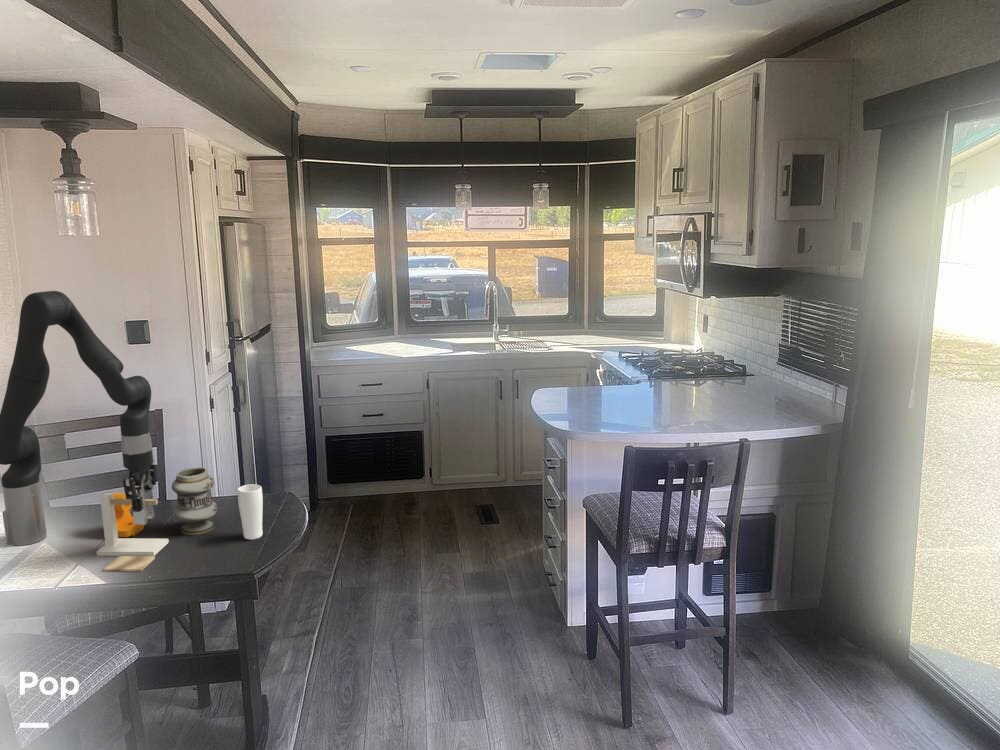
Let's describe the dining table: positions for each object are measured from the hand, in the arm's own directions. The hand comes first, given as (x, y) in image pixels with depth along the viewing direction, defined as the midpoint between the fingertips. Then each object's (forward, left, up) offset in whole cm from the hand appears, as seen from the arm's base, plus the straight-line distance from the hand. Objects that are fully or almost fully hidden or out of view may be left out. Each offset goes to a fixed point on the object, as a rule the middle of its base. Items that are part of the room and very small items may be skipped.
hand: (143, 506), depth 215 cm
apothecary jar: (+8, +15, -13) cm, 21 cm away
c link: (0, 0, -4) cm, 4 cm away
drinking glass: (+27, +9, -13) cm, 31 cm away
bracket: (-12, +12, -13) cm, 21 cm away
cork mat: (0, -10, -13) cm, 16 cm away
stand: (-4, 0, -13) cm, 13 cm away
